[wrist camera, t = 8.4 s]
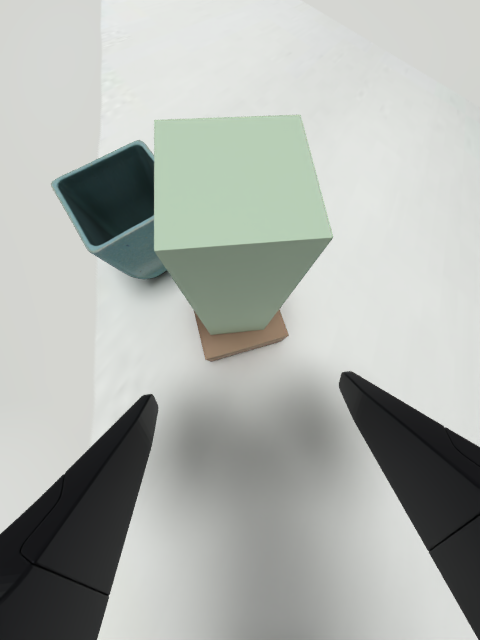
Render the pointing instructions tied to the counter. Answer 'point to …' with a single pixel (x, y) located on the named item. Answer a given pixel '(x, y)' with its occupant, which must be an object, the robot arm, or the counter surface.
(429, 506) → the robot arm
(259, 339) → the walnut block
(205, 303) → the sage pillar
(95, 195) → the flower pot
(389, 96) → the counter surface
